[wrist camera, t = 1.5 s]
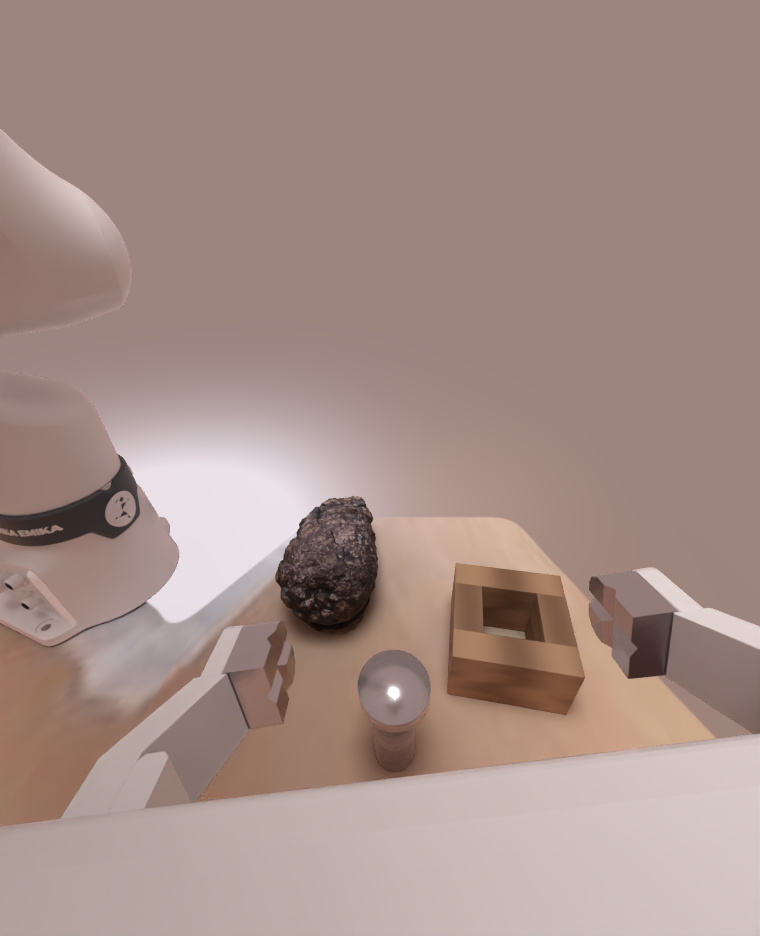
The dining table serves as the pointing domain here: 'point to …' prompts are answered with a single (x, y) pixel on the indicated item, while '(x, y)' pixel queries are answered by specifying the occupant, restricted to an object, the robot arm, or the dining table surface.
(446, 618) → the dining table surface
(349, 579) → the pine cone
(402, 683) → the pin
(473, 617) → the socket block
